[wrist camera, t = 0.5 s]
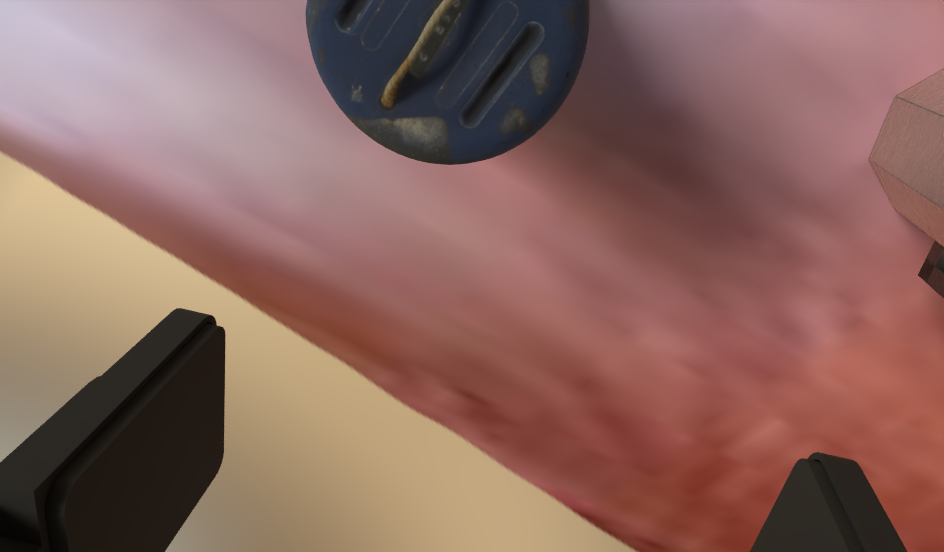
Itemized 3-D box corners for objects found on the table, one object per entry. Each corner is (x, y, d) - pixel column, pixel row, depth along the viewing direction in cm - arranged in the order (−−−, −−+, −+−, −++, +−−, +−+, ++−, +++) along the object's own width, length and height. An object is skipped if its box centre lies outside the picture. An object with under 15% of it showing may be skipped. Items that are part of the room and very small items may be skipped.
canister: (620, 15, 36) (661, 61, 20) (481, 123, 39) (418, 237, 23) (511, -147, 34) (456, -248, 17) (372, -18, 37) (218, 0, 21)
